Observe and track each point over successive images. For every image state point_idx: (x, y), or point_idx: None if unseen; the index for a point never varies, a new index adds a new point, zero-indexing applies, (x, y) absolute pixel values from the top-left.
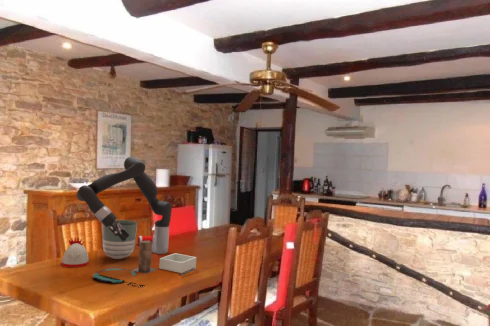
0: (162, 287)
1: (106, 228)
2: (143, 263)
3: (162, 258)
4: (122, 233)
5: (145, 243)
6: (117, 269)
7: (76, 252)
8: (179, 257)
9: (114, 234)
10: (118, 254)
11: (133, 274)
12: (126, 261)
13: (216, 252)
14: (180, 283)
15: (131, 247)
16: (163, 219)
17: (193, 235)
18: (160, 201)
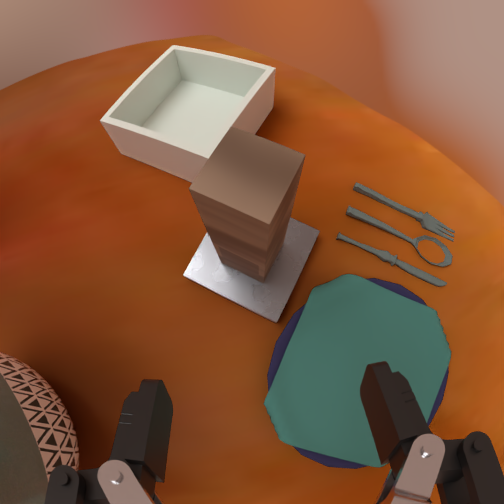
0: (420, 157)
1: None
2: (280, 242)
3: (208, 145)
4: (163, 473)
5: (299, 168)
6: (279, 396)
7: None
8: (129, 108)
9: (464, 485)
10: (73, 430)
11: (353, 287)
12: (79, 383)
13: (11, 91)
14: (360, 107)
15: (19, 364)
16: None
17: None
18: None
